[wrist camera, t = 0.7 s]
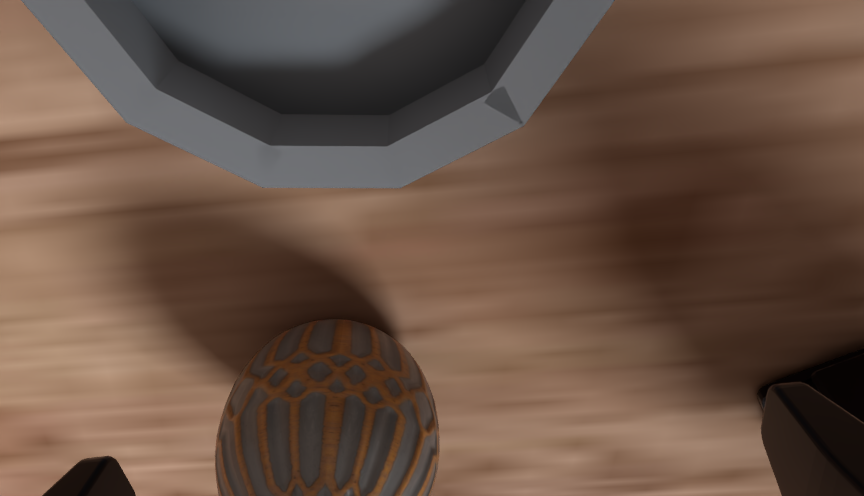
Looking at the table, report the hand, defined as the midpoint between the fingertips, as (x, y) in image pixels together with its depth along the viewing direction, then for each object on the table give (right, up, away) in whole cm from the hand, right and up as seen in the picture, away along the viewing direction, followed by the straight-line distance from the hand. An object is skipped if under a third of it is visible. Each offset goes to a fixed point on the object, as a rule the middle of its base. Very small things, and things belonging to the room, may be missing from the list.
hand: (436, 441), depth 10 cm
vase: (-3, -1, +16) cm, 16 cm away
